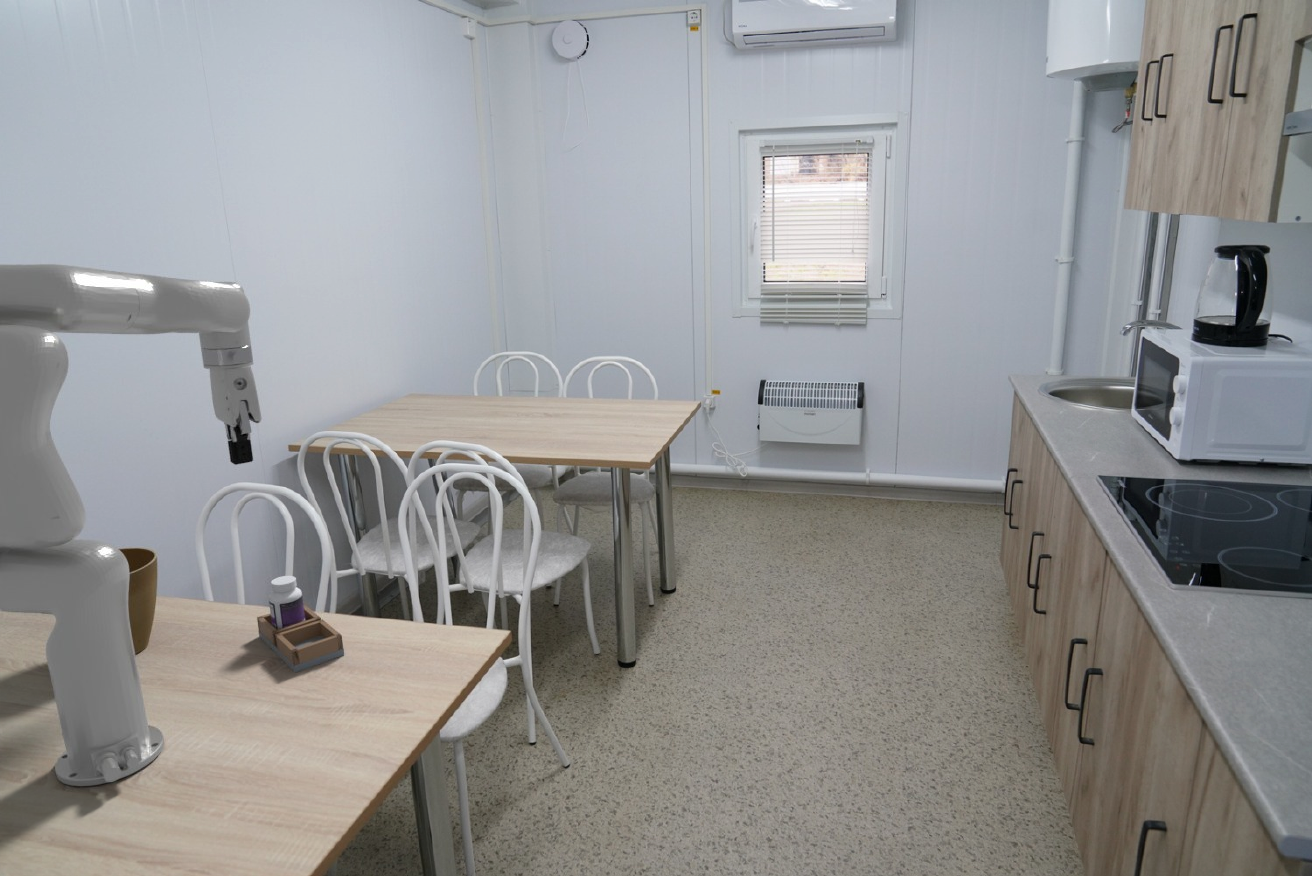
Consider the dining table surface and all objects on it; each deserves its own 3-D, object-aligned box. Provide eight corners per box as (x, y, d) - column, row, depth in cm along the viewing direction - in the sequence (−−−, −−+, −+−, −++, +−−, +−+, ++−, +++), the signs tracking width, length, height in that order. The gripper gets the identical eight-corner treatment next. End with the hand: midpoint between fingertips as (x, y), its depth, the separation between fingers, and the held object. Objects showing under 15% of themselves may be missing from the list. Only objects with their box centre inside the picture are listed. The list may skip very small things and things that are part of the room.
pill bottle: (312, 624, 151) (306, 574, 148) (296, 638, 146) (290, 587, 143) (283, 623, 151) (277, 573, 149) (267, 637, 146) (260, 585, 144)
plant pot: (142, 622, 155) (127, 541, 151) (189, 642, 147) (174, 557, 143) (52, 657, 142) (33, 570, 138) (98, 681, 135) (80, 589, 131)
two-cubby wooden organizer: (344, 654, 142) (342, 635, 141) (295, 672, 137) (292, 651, 136) (305, 621, 154) (303, 603, 154) (259, 636, 149) (256, 617, 148)
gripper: (266, 359, 138) (280, 466, 142) (236, 350, 148) (250, 450, 153) (217, 365, 133) (233, 475, 137) (190, 354, 143) (205, 458, 148)
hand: (242, 462), depth 145 cm, fingers closed
